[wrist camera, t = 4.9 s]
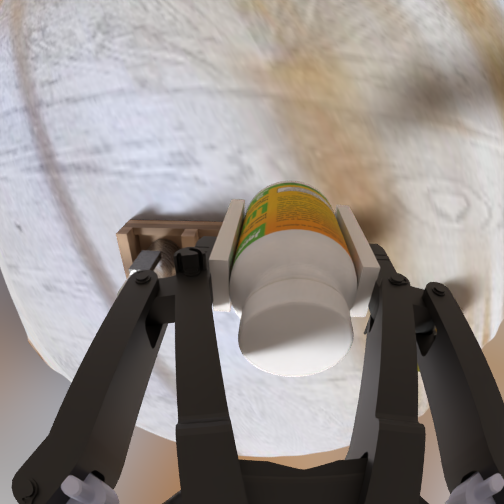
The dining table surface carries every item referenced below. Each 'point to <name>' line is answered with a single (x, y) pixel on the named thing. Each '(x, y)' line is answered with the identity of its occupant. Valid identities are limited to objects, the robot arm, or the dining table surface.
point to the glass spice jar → (156, 259)
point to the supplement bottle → (293, 282)
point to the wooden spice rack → (160, 235)
